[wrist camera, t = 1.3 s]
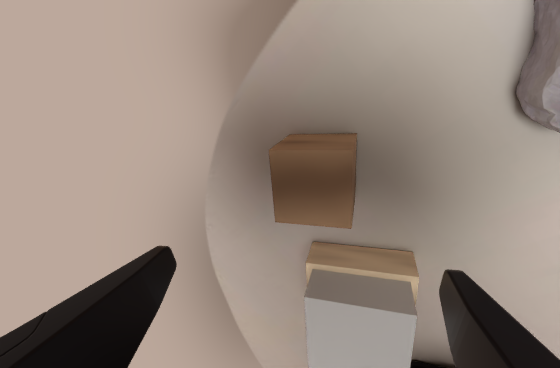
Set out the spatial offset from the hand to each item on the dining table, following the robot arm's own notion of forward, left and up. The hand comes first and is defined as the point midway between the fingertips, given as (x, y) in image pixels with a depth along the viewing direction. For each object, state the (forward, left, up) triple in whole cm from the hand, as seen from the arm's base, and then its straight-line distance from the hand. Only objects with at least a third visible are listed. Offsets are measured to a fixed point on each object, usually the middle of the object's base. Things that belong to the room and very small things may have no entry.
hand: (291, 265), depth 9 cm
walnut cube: (-1, +1, -13) cm, 13 cm away
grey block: (-12, -2, -10) cm, 16 cm away
